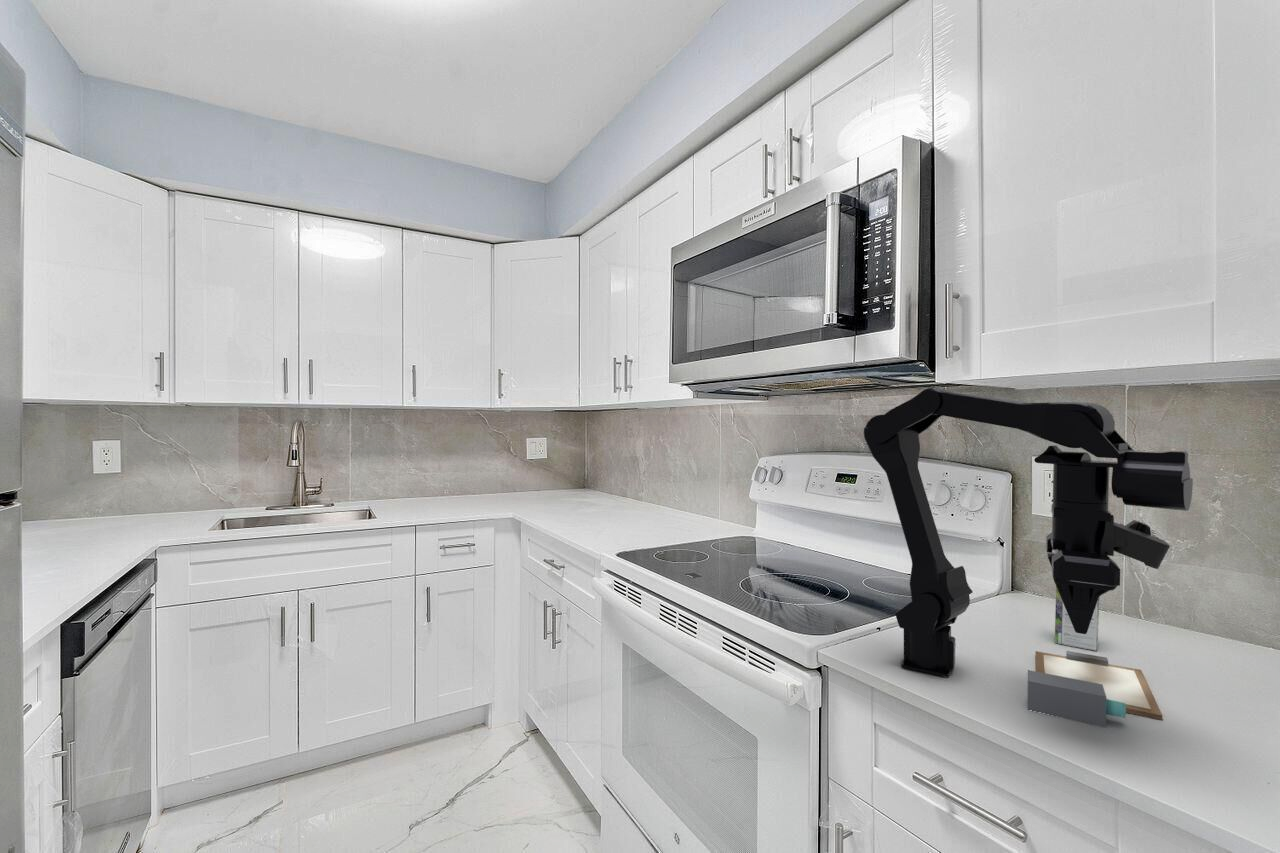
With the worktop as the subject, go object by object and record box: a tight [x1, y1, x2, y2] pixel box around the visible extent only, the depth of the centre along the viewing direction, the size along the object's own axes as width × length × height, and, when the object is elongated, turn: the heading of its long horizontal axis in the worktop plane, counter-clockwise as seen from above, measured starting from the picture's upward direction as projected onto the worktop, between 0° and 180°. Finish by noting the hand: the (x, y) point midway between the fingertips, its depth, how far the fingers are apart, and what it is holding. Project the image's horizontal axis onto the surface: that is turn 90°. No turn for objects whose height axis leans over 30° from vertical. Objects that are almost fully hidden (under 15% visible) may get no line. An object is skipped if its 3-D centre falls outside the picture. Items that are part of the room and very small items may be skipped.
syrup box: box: [1054, 586, 1100, 651], centre depth 99 cm, size 6×6×14 cm
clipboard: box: [1035, 650, 1164, 721], centre depth 84 cm, size 13×16×2 cm
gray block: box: [1027, 669, 1127, 728], centre depth 75 cm, size 10×4×4 cm, turn 57°
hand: (1077, 621), depth 75 cm, fingers open, 9 cm apart
